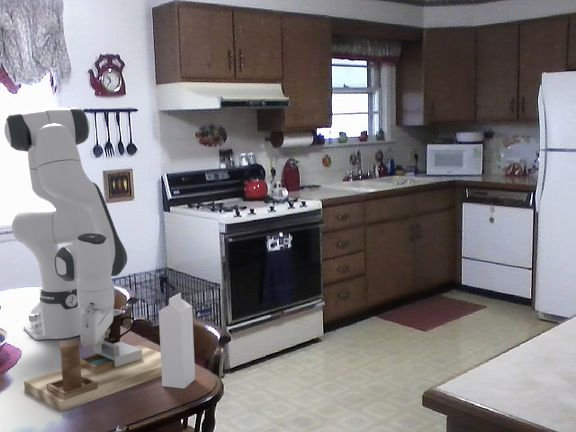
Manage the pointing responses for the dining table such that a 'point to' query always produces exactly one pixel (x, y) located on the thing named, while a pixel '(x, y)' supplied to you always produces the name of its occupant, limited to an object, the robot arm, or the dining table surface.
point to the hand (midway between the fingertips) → (99, 351)
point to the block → (70, 365)
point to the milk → (177, 343)
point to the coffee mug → (116, 328)
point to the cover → (121, 353)
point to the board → (95, 379)
